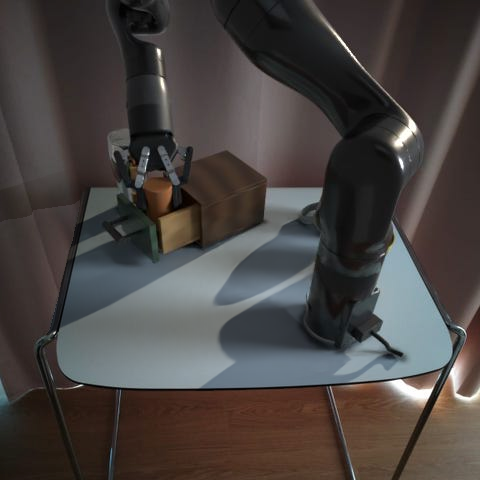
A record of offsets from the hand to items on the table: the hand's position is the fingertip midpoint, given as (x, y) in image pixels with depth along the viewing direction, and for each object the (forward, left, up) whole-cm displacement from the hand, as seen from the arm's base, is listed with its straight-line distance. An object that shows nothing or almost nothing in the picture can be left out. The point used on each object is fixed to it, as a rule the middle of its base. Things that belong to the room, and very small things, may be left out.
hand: (160, 209), depth 85 cm
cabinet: (+2, -13, -8) cm, 15 cm away
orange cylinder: (+2, -1, -4) cm, 5 cm away
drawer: (+2, 0, -7) cm, 7 cm away
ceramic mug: (-12, -30, -8) cm, 33 cm away
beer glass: (+14, -2, -8) cm, 16 cm away
